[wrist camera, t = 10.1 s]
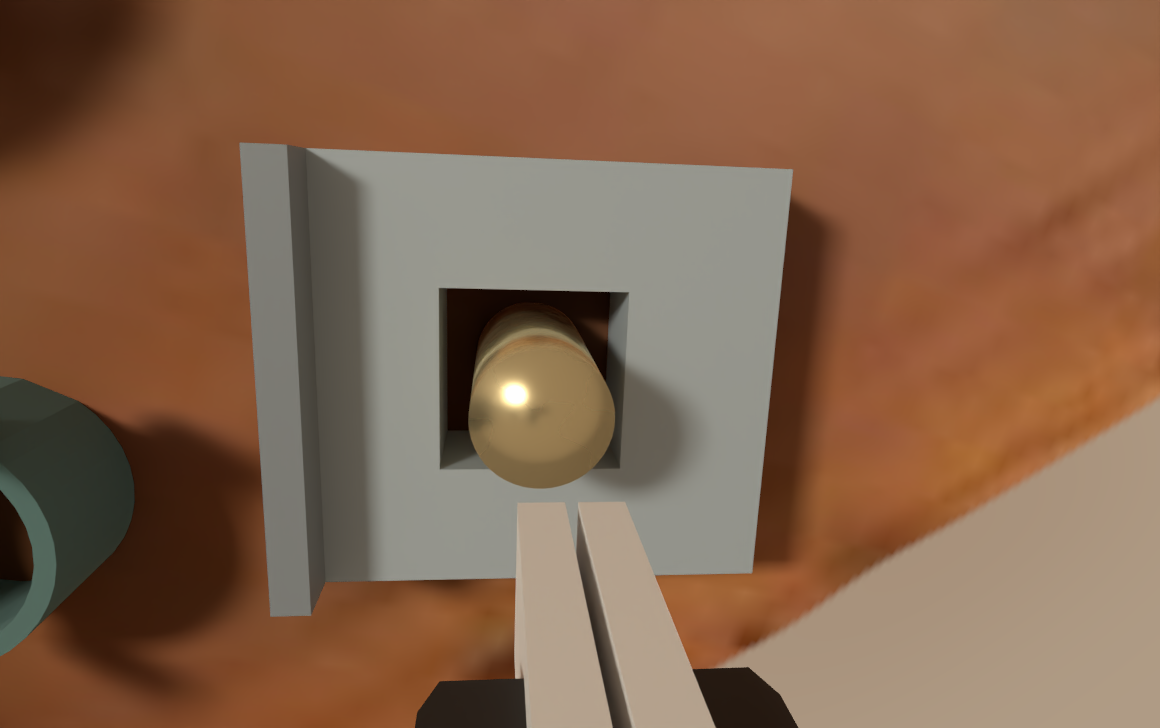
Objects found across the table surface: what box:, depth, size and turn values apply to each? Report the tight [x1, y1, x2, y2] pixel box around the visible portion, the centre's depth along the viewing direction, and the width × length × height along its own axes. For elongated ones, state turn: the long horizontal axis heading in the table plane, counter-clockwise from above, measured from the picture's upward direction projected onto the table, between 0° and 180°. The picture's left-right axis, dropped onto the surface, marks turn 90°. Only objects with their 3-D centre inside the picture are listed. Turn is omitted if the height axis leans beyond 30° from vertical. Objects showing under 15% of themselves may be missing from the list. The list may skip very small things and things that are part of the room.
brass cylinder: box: [468, 302, 615, 489], centre depth 24 cm, size 4×4×8 cm
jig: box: [240, 143, 793, 617], centre depth 25 cm, size 16×14×6 cm
